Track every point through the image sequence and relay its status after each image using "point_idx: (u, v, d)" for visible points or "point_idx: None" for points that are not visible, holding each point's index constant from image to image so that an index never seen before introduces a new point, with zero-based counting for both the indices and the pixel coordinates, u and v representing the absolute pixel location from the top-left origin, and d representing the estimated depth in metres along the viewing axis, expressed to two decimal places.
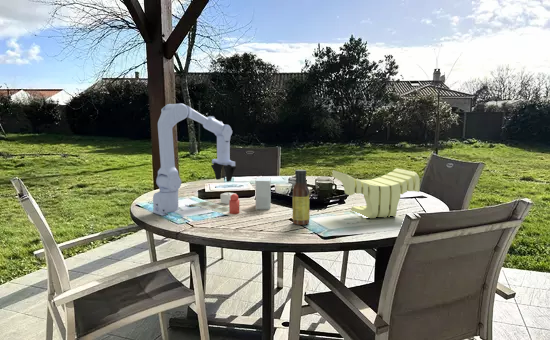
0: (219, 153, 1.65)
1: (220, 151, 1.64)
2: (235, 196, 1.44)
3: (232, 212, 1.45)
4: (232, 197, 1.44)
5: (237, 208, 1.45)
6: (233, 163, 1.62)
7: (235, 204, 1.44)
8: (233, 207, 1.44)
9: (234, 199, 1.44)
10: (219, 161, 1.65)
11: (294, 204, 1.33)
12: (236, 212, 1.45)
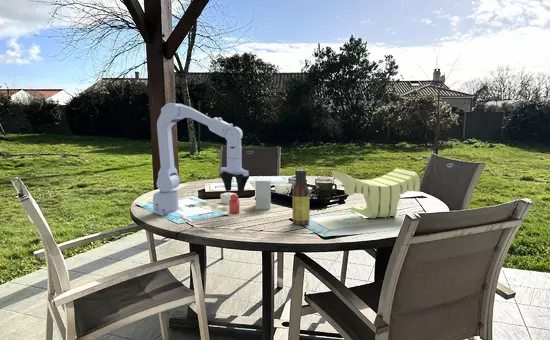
0: (229, 161, 1.41)
1: (231, 159, 1.41)
2: (235, 196, 1.45)
3: (232, 212, 1.45)
4: (232, 197, 1.44)
5: (237, 208, 1.45)
6: (246, 172, 1.39)
7: (235, 204, 1.44)
8: (233, 207, 1.44)
9: (234, 199, 1.44)
10: (229, 170, 1.42)
11: (294, 204, 1.33)
12: (236, 212, 1.45)
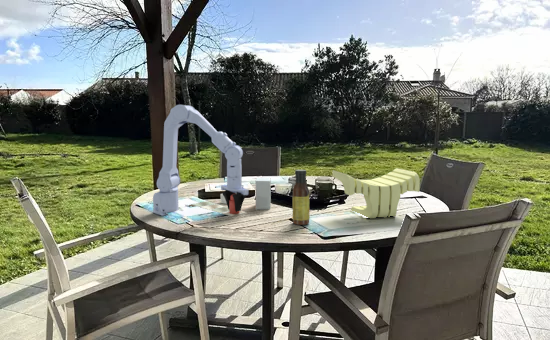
0: (229, 179, 1.42)
1: (231, 178, 1.42)
2: None
3: (232, 212, 1.45)
4: (232, 197, 1.44)
5: None
6: (246, 191, 1.40)
7: None
8: (233, 207, 1.44)
9: None
10: (229, 189, 1.43)
11: (294, 204, 1.33)
12: (236, 212, 1.45)
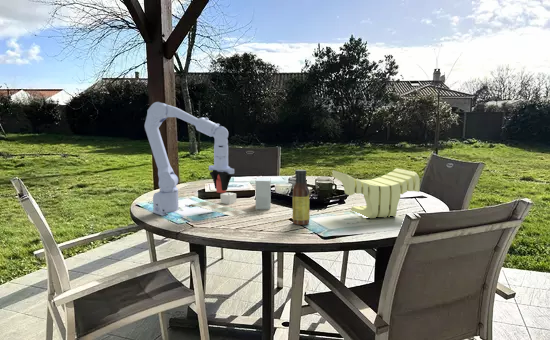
0: (216, 159, 1.47)
1: (217, 157, 1.46)
2: None
3: (219, 191, 1.49)
4: (219, 176, 1.49)
5: None
6: (232, 170, 1.45)
7: None
8: (220, 186, 1.49)
9: None
10: (216, 168, 1.47)
11: (294, 204, 1.33)
12: (223, 191, 1.49)
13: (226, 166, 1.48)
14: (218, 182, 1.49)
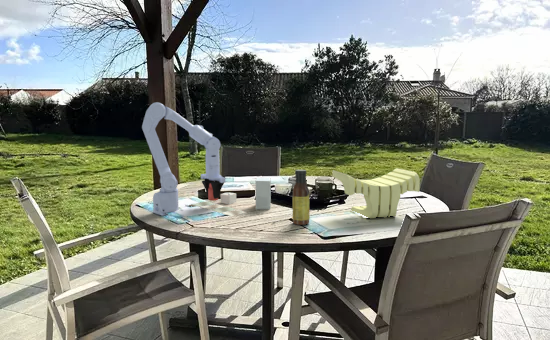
0: (208, 168, 1.51)
1: (209, 167, 1.51)
2: None
3: (211, 199, 1.54)
4: (211, 185, 1.54)
5: None
6: (223, 179, 1.49)
7: None
8: (211, 195, 1.53)
9: None
10: (208, 177, 1.52)
11: (294, 204, 1.33)
12: (214, 199, 1.54)
13: (217, 175, 1.53)
14: (210, 190, 1.53)
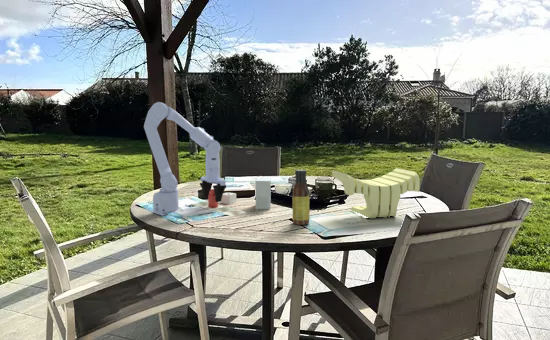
0: (208, 171, 1.52)
1: (209, 169, 1.51)
2: (213, 191, 1.54)
3: (211, 206, 1.54)
4: (210, 192, 1.54)
5: (215, 202, 1.54)
6: (223, 182, 1.50)
7: (214, 199, 1.54)
8: (211, 202, 1.54)
9: (212, 194, 1.54)
10: (208, 180, 1.52)
11: (294, 204, 1.33)
12: (214, 206, 1.54)
13: (217, 178, 1.53)
14: (210, 197, 1.54)
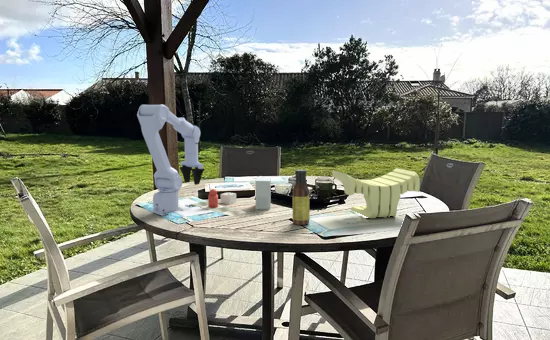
0: (186, 155, 1.60)
1: (187, 154, 1.59)
2: (214, 191, 1.54)
3: (211, 206, 1.54)
4: (211, 192, 1.54)
5: (215, 202, 1.54)
6: (200, 166, 1.58)
7: (214, 199, 1.54)
8: (211, 202, 1.54)
9: (213, 194, 1.54)
10: (187, 163, 1.60)
11: (294, 204, 1.33)
12: (214, 206, 1.54)
13: (196, 162, 1.61)
14: (210, 197, 1.54)
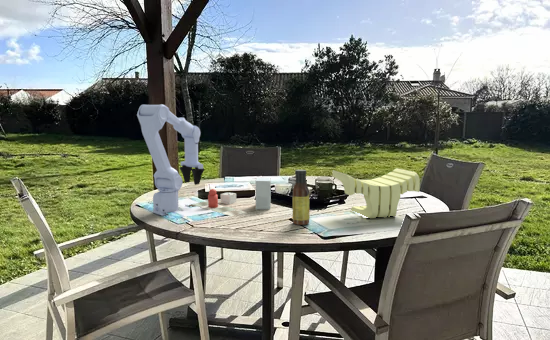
0: (186, 155, 1.60)
1: (187, 154, 1.59)
2: (213, 191, 1.54)
3: (210, 206, 1.54)
4: (210, 192, 1.54)
5: (215, 202, 1.54)
6: (200, 166, 1.58)
7: (213, 199, 1.54)
8: (211, 202, 1.54)
9: (212, 194, 1.54)
10: (187, 163, 1.60)
11: (294, 204, 1.33)
12: (214, 206, 1.54)
13: (196, 162, 1.61)
14: (209, 197, 1.54)
